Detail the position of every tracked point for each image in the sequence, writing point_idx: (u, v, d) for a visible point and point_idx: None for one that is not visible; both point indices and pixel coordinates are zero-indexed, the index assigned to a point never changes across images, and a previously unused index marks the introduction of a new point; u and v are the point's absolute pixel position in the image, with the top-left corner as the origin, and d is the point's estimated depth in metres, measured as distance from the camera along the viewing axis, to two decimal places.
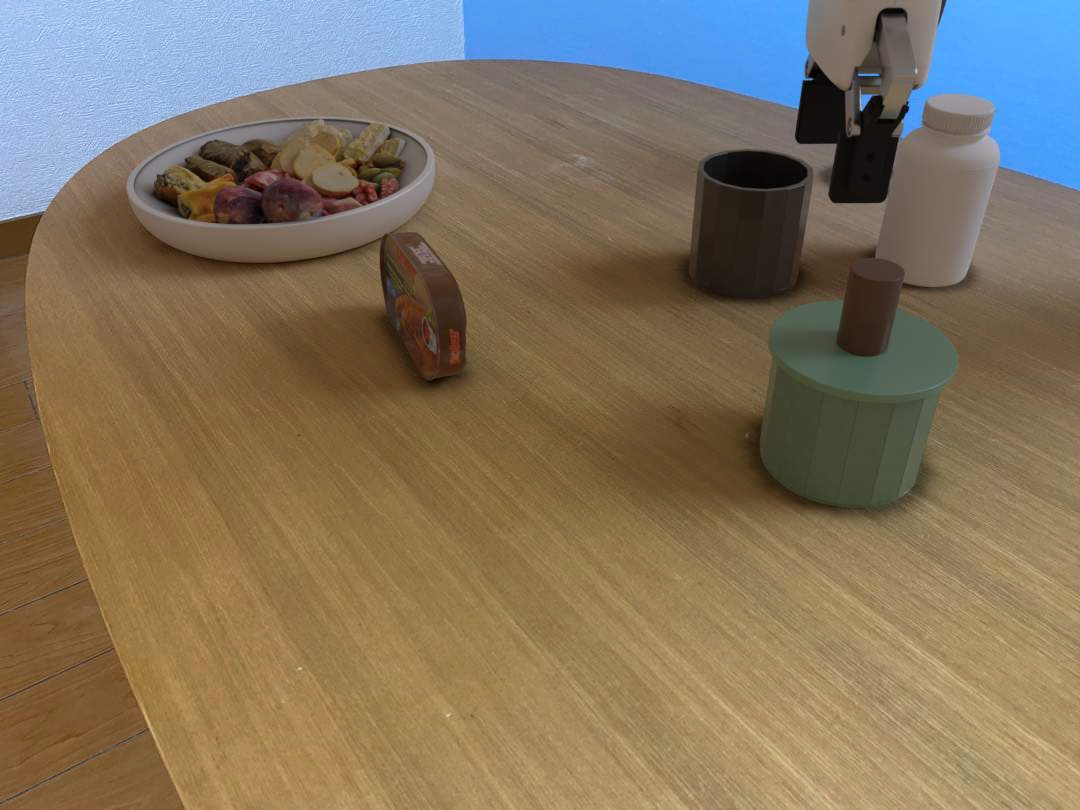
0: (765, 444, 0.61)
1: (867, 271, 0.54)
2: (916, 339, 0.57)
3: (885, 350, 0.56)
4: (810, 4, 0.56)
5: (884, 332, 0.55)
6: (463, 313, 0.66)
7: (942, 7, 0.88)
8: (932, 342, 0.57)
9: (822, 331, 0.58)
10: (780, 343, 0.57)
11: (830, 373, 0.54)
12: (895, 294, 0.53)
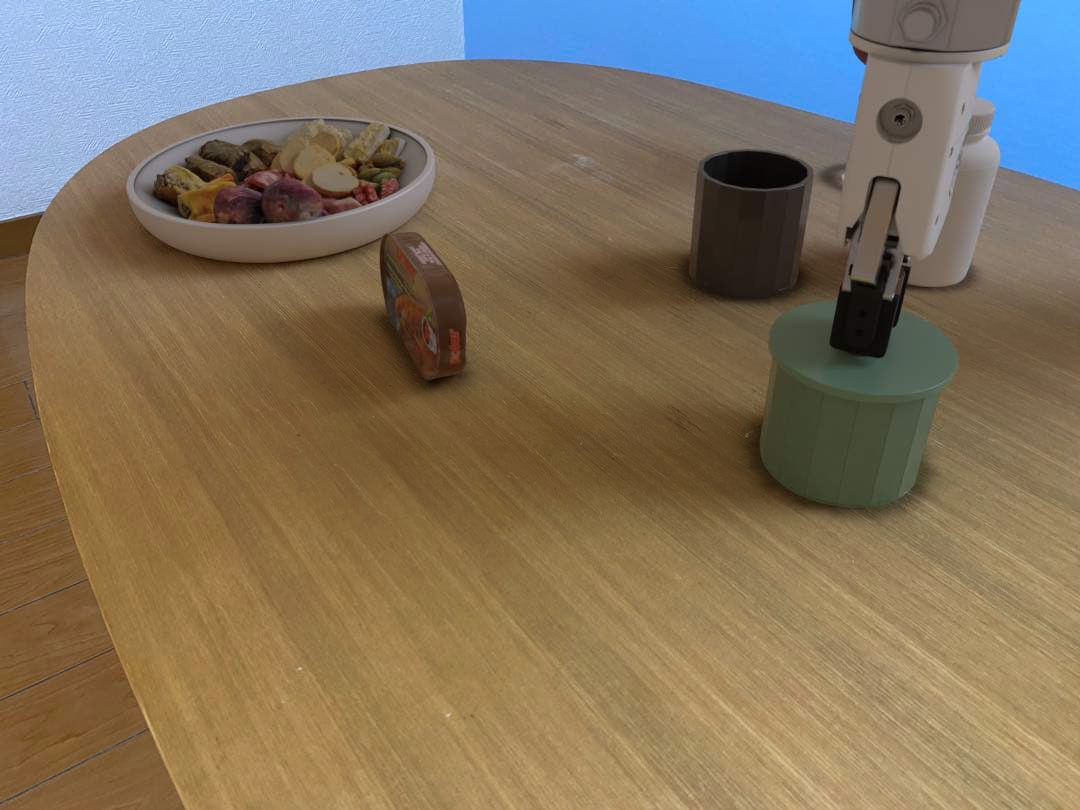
0: (765, 444, 0.61)
1: None
2: (916, 339, 0.57)
3: None
4: None
5: None
6: (463, 313, 0.66)
7: None
8: (932, 342, 0.57)
9: (822, 331, 0.58)
10: (780, 343, 0.57)
11: (830, 373, 0.54)
12: None
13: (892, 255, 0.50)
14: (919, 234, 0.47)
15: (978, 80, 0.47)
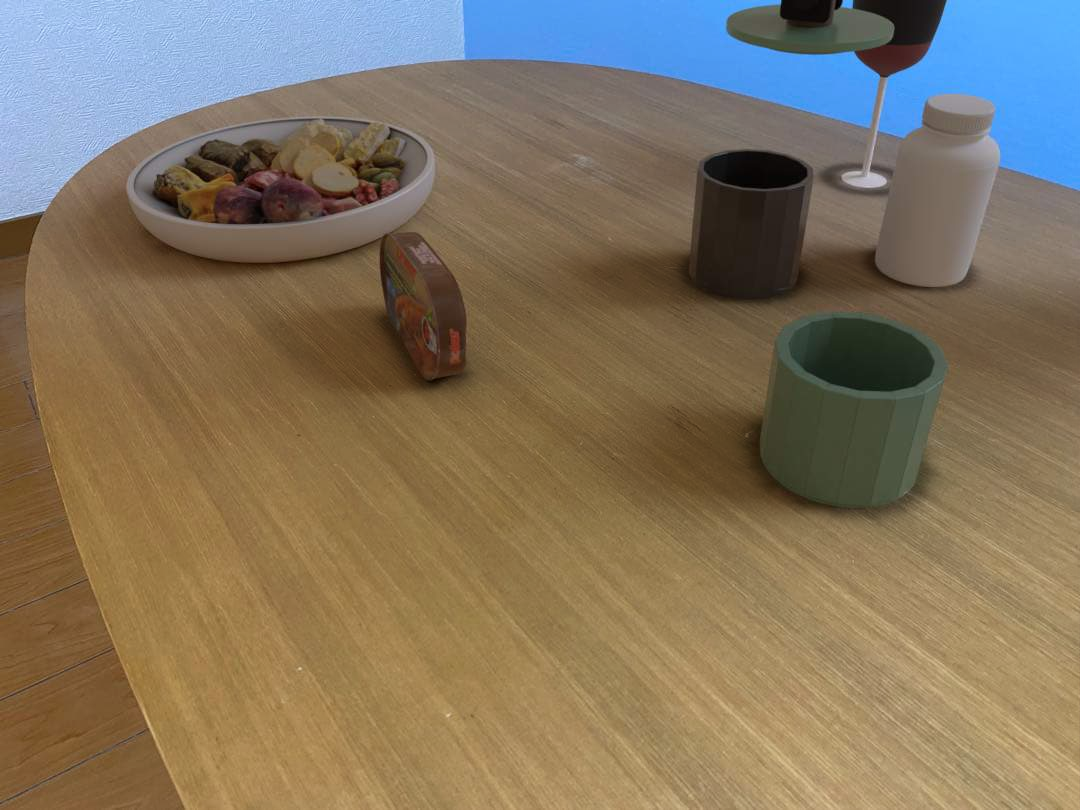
0: (765, 444, 0.61)
1: None
2: (857, 20, 0.64)
3: (830, 25, 0.63)
4: None
5: None
6: (463, 313, 0.66)
7: (942, 7, 0.88)
8: (872, 20, 0.63)
9: (775, 17, 0.64)
10: (736, 23, 0.63)
11: (779, 34, 0.61)
12: None
13: None
14: None
15: None
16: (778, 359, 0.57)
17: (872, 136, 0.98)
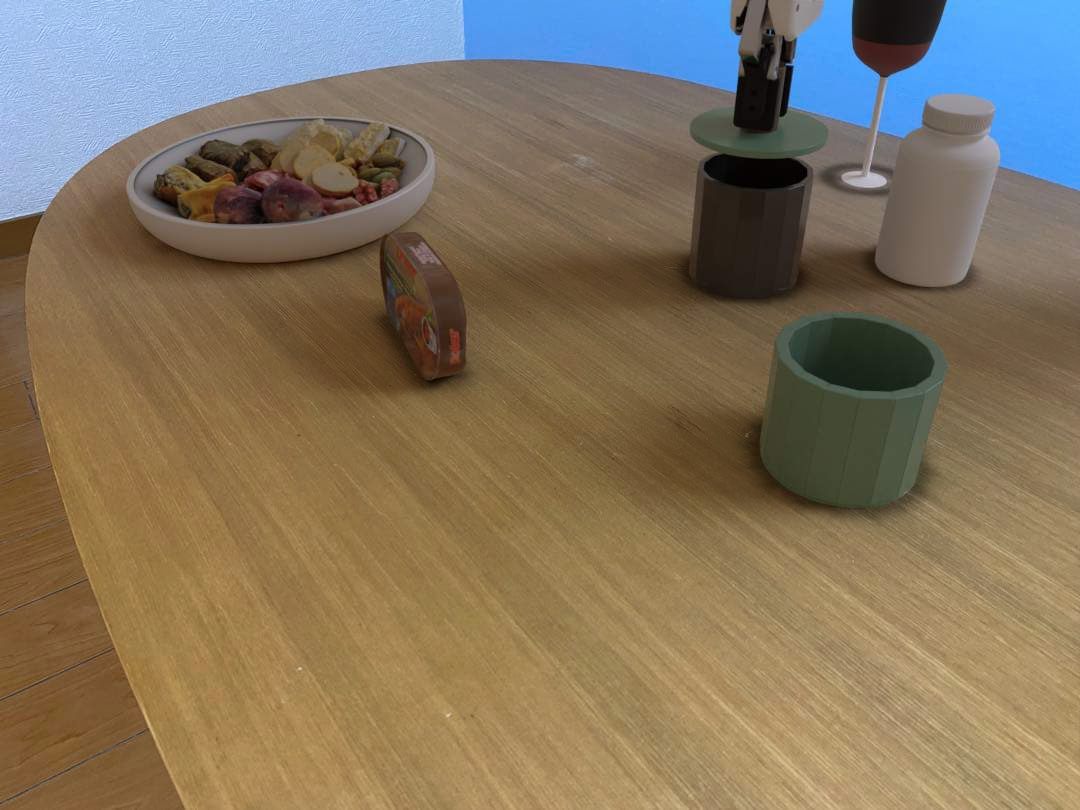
0: (765, 444, 0.61)
1: None
2: (799, 125, 0.76)
3: (775, 130, 0.75)
4: None
5: None
6: (463, 313, 0.66)
7: (942, 7, 0.88)
8: (811, 126, 0.76)
9: (731, 121, 0.77)
10: (698, 127, 0.76)
11: (731, 141, 0.73)
12: None
13: (771, 42, 0.69)
14: (785, 17, 0.66)
15: None
16: (778, 359, 0.57)
17: (872, 136, 0.98)
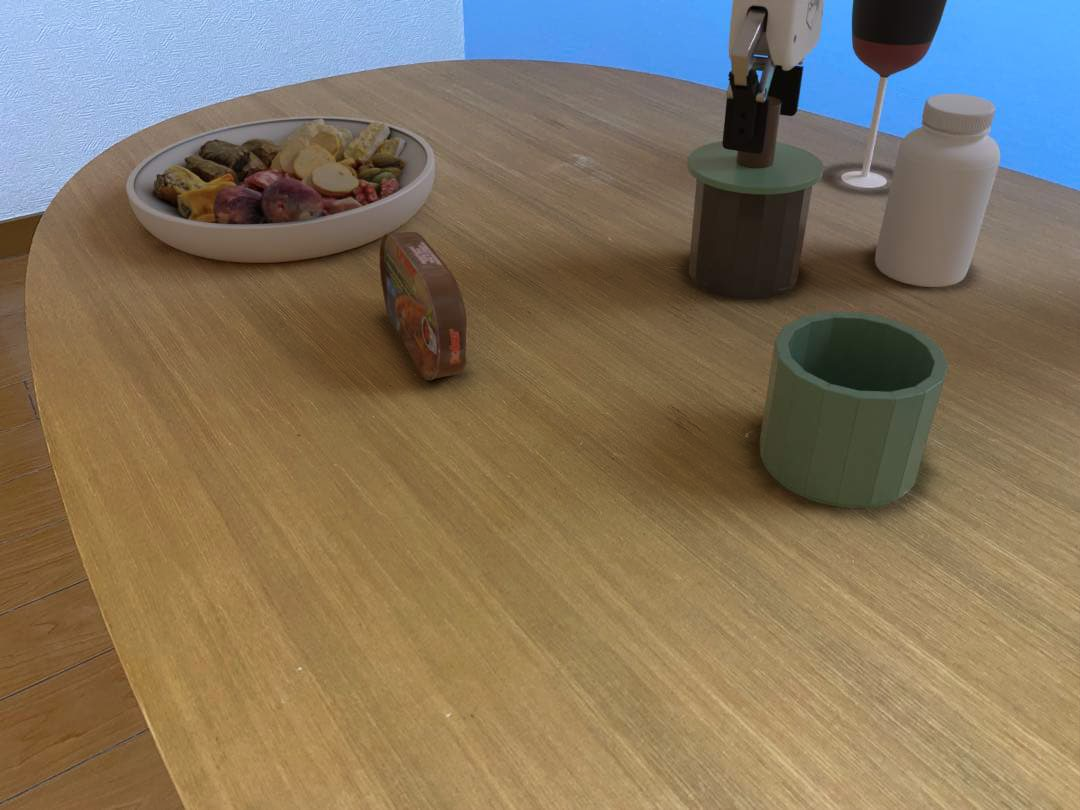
0: (765, 444, 0.61)
1: None
2: (795, 159, 0.78)
3: (771, 165, 0.77)
4: None
5: (768, 149, 0.76)
6: (463, 313, 0.66)
7: (942, 7, 0.88)
8: (806, 160, 0.78)
9: (727, 155, 0.79)
10: (695, 162, 0.78)
11: (728, 176, 0.75)
12: (774, 118, 0.74)
13: (765, 62, 0.69)
14: (782, 47, 0.67)
15: None
16: (778, 359, 0.57)
17: (872, 136, 0.98)
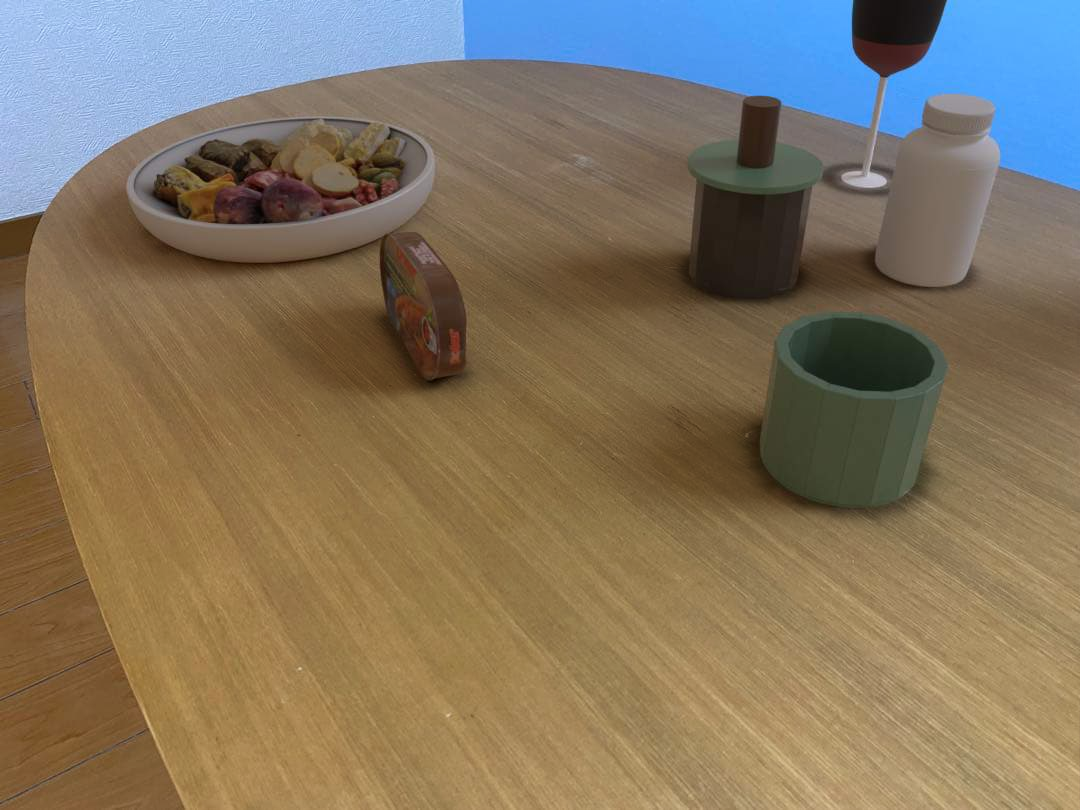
0: (765, 444, 0.61)
1: (754, 102, 0.74)
2: (795, 159, 0.78)
3: (771, 165, 0.77)
4: None
5: (768, 149, 0.76)
6: (463, 313, 0.66)
7: (942, 7, 0.88)
8: (806, 160, 0.78)
9: (727, 155, 0.79)
10: (695, 162, 0.78)
11: (728, 176, 0.75)
12: (774, 118, 0.74)
13: None
14: None
15: None
16: (778, 359, 0.57)
17: (872, 136, 0.98)
